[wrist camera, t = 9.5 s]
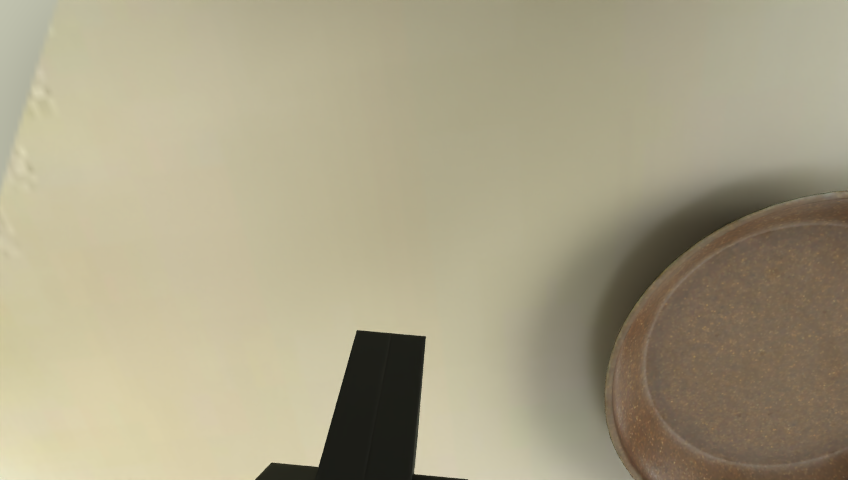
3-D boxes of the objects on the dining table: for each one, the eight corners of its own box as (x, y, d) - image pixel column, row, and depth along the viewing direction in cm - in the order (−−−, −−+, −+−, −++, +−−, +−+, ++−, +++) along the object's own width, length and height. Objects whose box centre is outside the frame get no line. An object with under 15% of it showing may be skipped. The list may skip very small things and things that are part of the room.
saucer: (581, 196, 24) (596, 224, 21) (1021, 140, 23) (1091, 164, 20) (600, 503, 30) (613, 553, 27) (950, 474, 28) (998, 525, 26)
